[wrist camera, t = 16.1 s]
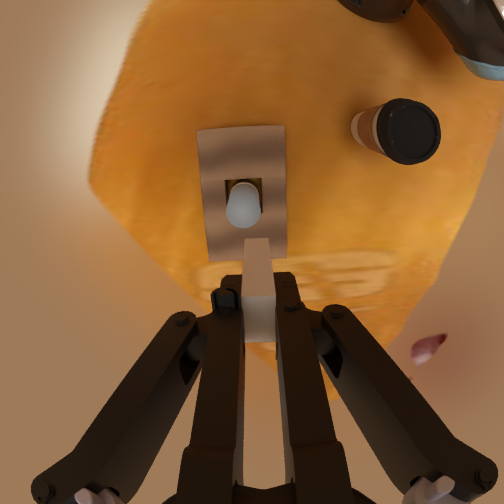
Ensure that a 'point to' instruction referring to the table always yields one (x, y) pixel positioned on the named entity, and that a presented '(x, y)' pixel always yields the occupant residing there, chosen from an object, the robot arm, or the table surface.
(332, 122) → the table surface
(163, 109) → the table surface
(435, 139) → the coffee cup
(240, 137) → the board
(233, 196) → the peg
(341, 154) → the table surface
